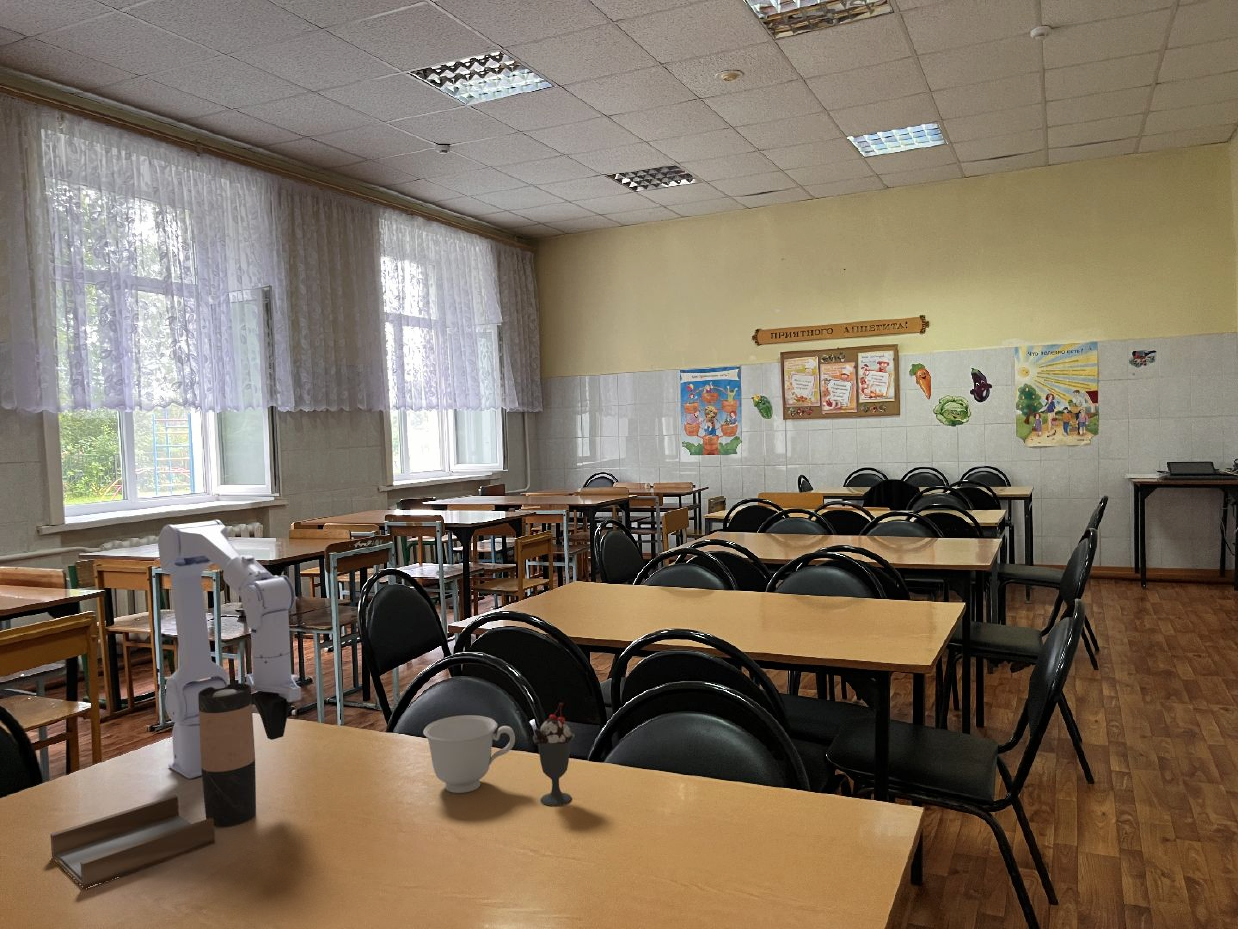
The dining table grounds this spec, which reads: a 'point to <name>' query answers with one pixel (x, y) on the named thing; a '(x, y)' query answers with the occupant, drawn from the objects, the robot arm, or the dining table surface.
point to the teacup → (464, 749)
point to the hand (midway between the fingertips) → (275, 737)
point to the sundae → (554, 755)
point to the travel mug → (227, 754)
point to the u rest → (128, 842)
